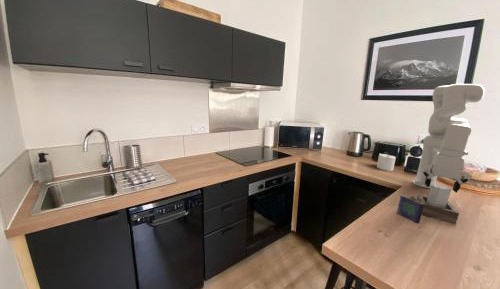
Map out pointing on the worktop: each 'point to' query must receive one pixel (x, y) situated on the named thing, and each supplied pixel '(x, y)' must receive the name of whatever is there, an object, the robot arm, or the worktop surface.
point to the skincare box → (438, 196)
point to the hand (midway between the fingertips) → (440, 188)
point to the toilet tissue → (386, 162)
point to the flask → (410, 208)
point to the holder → (439, 211)
